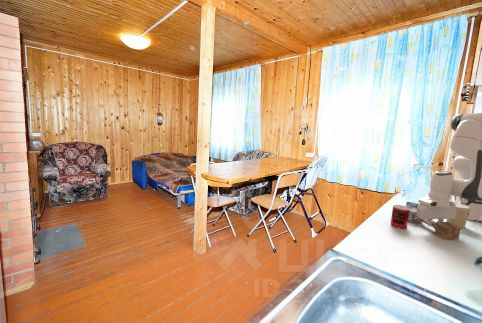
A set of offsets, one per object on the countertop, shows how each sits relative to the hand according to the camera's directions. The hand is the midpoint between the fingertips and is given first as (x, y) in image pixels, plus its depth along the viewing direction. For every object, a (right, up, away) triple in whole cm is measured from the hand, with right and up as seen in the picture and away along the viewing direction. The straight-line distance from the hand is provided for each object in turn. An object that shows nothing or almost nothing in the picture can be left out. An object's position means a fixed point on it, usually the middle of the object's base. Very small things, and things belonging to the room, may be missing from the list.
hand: (433, 226), depth 123 cm
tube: (0, -1, +3) cm, 3 cm away
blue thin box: (+12, +1, +28) cm, 31 cm away
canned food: (-16, -2, +5) cm, 17 cm away
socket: (+1, -4, -7) cm, 8 cm away
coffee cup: (+20, -2, +9) cm, 22 cm away
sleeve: (-1, -1, +14) cm, 14 cm away
